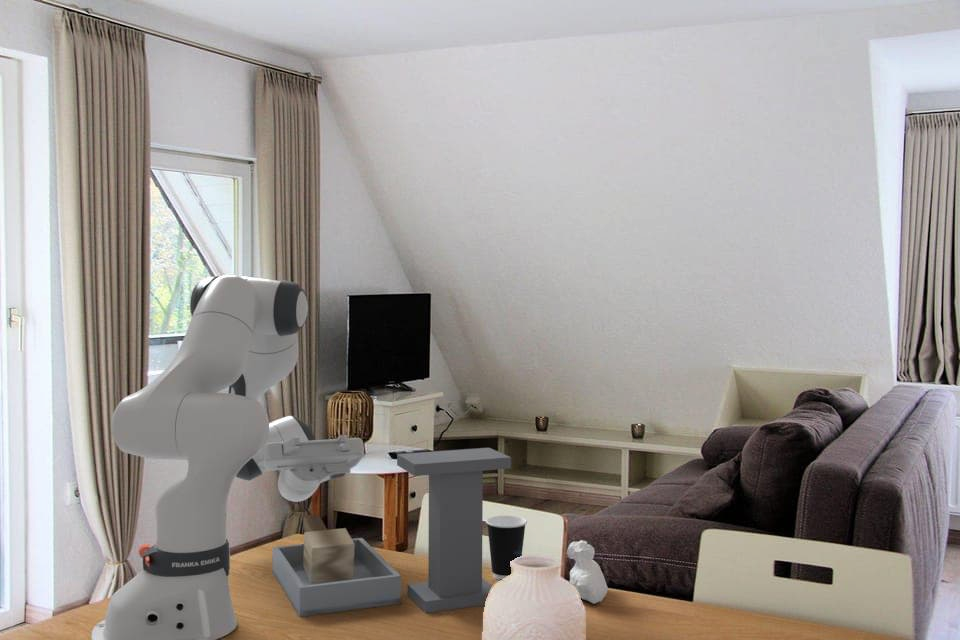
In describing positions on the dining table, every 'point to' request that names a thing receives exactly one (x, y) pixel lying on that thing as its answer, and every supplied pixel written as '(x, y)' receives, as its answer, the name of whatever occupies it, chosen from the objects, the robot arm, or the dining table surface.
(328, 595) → the tray
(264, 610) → the dining table surface
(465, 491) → the stand
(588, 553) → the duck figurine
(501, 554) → the dixie cup
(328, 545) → the mallet
